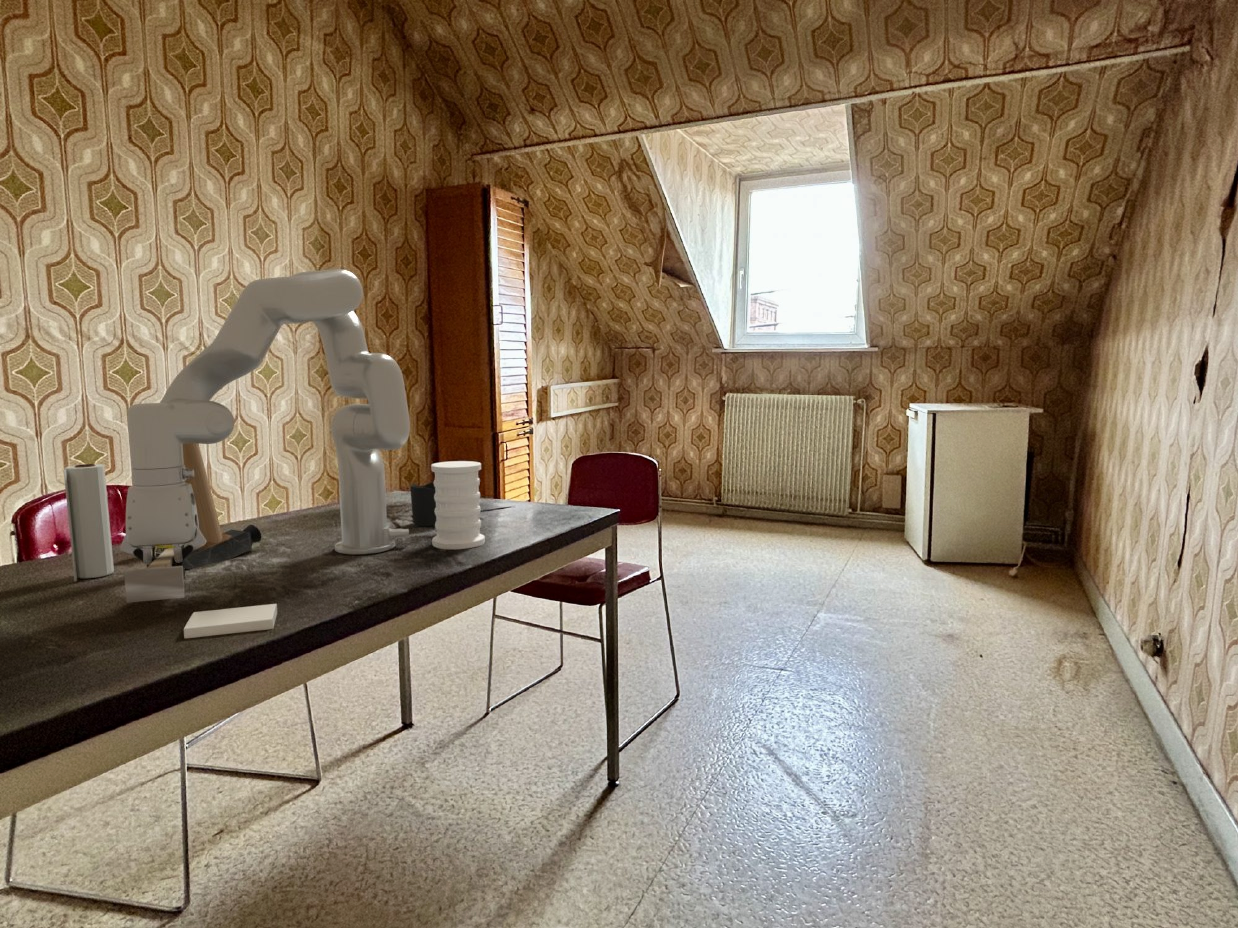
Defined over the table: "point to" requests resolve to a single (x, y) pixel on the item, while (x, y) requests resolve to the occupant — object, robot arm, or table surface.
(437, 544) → the decorative container
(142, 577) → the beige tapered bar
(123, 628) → the table surface
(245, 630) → the tile
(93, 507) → the paper towel roll
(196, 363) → the robot arm
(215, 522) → the hammer
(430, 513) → the pen holder
